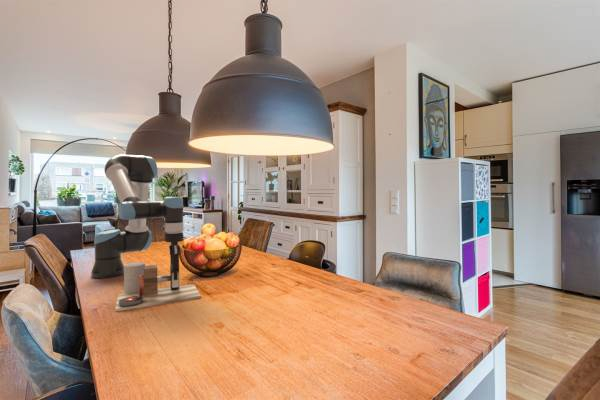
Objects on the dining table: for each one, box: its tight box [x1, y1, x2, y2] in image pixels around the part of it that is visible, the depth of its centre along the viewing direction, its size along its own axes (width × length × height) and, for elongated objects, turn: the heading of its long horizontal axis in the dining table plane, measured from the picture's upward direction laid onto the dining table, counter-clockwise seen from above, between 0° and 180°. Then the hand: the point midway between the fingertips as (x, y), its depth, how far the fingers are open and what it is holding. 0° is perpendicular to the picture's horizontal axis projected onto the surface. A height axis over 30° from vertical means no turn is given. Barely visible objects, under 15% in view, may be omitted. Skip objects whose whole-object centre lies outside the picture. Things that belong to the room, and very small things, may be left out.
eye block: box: [114, 264, 202, 312], centre depth 125 cm, size 18×30×12 cm, turn 118°
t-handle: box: [157, 264, 179, 290], centre depth 130 cm, size 4×15×10 cm, turn 118°
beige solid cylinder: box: [123, 261, 146, 294], centre depth 133 cm, size 8×8×12 cm
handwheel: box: [119, 275, 144, 307], centre depth 116 cm, size 10×8×9 cm
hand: (175, 285), depth 132 cm, fingers closed on t-handle, 4 cm apart
